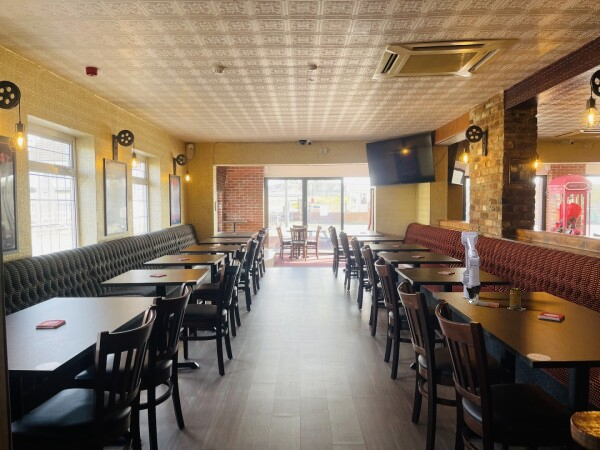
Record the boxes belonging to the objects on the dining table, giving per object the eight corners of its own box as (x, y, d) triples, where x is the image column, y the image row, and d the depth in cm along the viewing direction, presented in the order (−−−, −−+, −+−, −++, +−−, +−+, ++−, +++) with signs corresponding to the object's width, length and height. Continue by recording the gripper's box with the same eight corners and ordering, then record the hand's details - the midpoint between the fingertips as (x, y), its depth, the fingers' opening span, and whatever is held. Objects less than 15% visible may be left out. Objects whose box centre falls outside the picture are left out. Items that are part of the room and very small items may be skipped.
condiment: (512, 306, 264) (512, 287, 263) (526, 309, 257) (526, 289, 257) (506, 308, 259) (506, 288, 259) (521, 311, 252) (521, 290, 252)
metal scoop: (466, 304, 271) (466, 297, 271) (470, 302, 277) (470, 295, 277) (496, 308, 260) (496, 301, 259) (500, 306, 265) (500, 299, 265)
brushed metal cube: (478, 300, 272) (478, 293, 272) (475, 301, 269) (475, 294, 269) (472, 299, 274) (472, 293, 274) (469, 300, 272) (469, 294, 271)
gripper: (472, 274, 279) (472, 295, 280) (462, 277, 269) (462, 298, 269) (483, 275, 274) (483, 296, 275) (474, 278, 264) (474, 300, 264)
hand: (473, 297), depth 272 cm, fingers open, 7 cm apart
